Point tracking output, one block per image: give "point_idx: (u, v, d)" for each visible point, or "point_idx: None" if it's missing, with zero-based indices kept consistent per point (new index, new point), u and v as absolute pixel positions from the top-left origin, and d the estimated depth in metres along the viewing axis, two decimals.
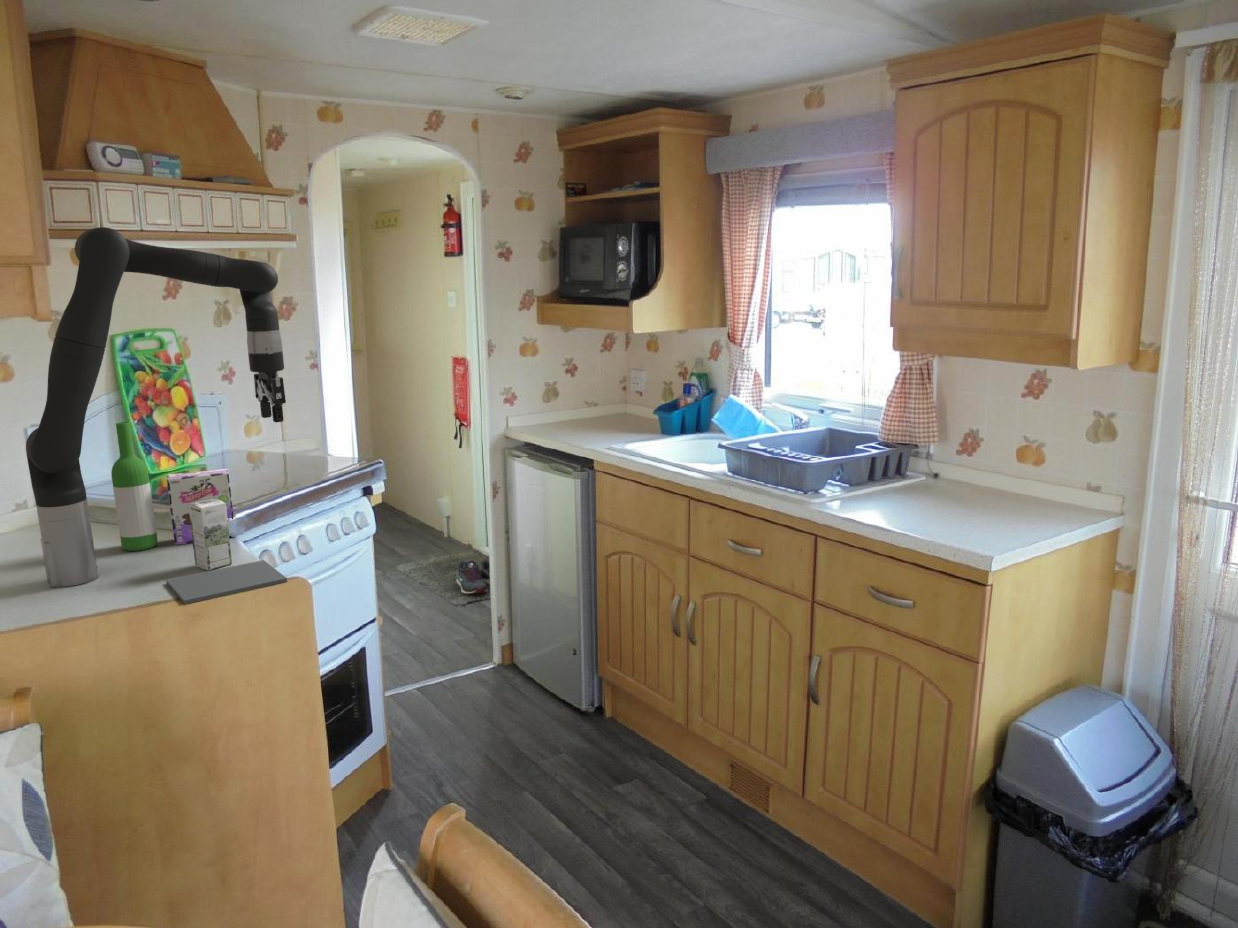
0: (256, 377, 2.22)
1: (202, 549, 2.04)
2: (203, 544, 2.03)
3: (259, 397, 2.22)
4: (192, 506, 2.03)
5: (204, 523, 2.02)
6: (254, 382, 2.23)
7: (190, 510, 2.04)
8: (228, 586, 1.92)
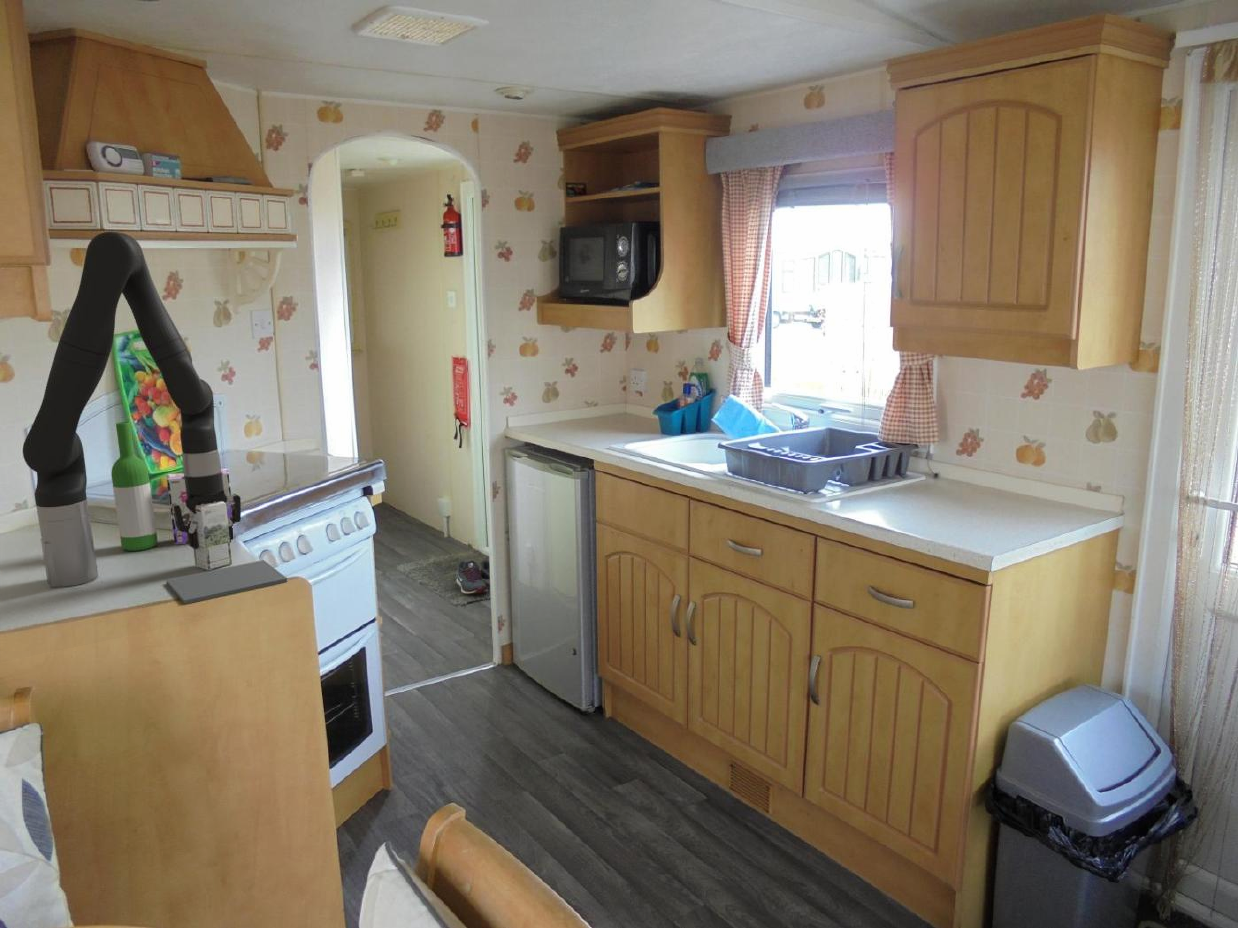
0: (180, 508, 2.01)
1: (202, 549, 2.04)
2: (203, 544, 2.03)
3: (193, 527, 2.03)
4: None
5: (204, 523, 2.02)
6: (176, 515, 2.00)
7: (190, 510, 2.04)
8: (228, 586, 1.92)
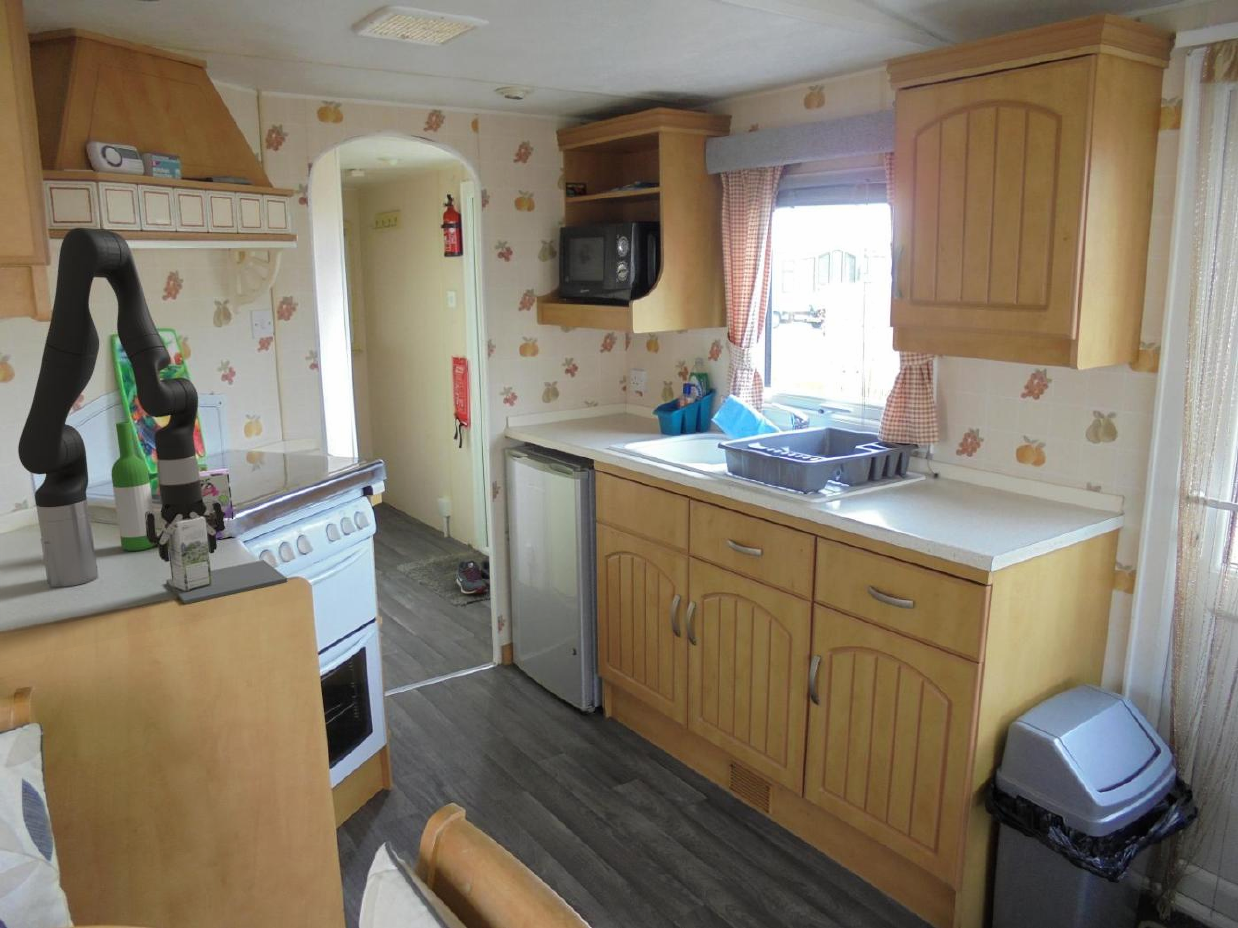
0: (154, 517, 1.85)
1: (179, 568, 1.89)
2: (180, 562, 1.88)
3: (165, 538, 1.87)
4: None
5: (181, 540, 1.87)
6: (148, 524, 1.84)
7: None
8: (228, 586, 1.92)
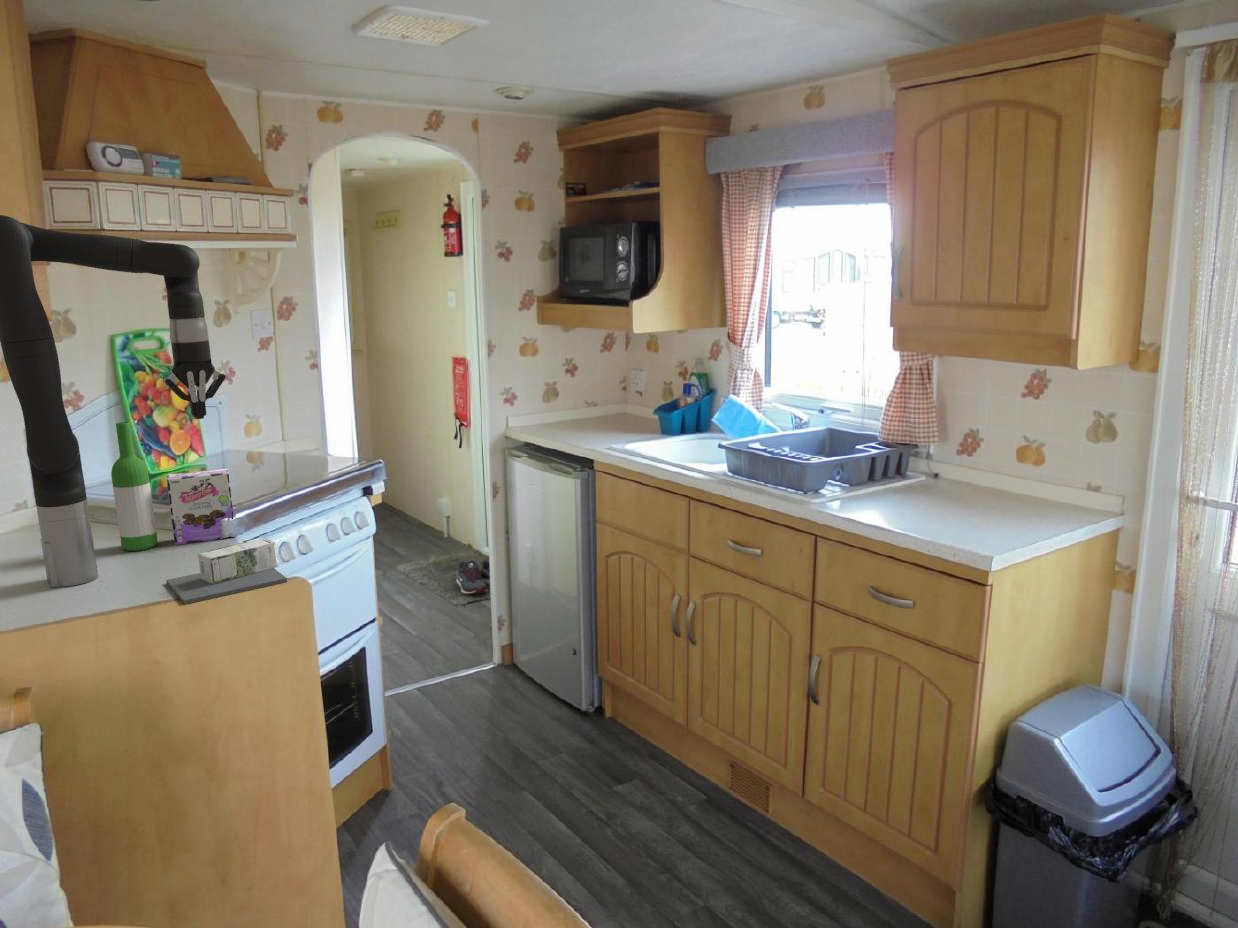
0: (171, 380, 2.01)
1: (228, 551, 1.96)
2: (236, 550, 1.96)
3: (196, 397, 2.05)
4: (264, 539, 2.04)
5: (258, 548, 1.99)
6: (172, 388, 2.01)
7: (257, 539, 2.04)
8: (228, 586, 1.92)
